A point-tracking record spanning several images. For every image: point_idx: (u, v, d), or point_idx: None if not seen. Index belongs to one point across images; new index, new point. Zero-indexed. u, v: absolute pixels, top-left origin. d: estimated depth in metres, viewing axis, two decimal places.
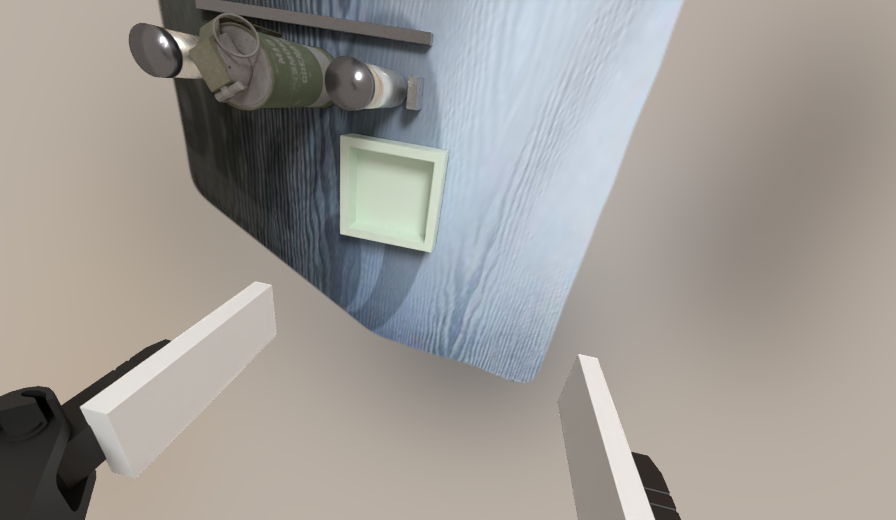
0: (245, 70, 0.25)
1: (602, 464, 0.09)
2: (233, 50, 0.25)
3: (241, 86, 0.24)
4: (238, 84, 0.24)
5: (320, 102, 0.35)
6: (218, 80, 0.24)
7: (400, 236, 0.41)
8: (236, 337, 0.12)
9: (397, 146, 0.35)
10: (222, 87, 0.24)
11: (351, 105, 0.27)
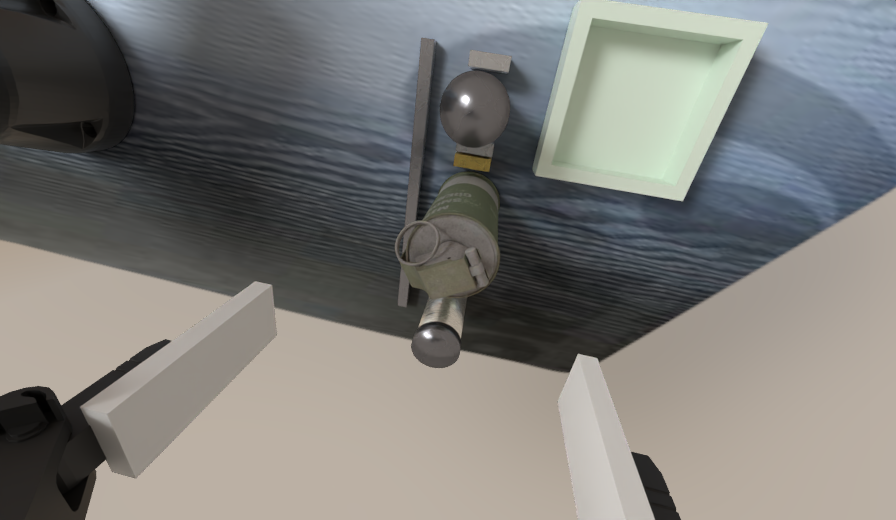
0: (453, 246, 0.20)
1: (602, 464, 0.09)
2: (432, 253, 0.20)
3: (471, 248, 0.18)
4: (468, 251, 0.18)
5: (493, 196, 0.28)
6: (463, 274, 0.18)
7: (712, 94, 0.23)
8: (236, 337, 0.12)
9: (559, 87, 0.24)
10: (471, 272, 0.18)
11: (503, 108, 0.18)
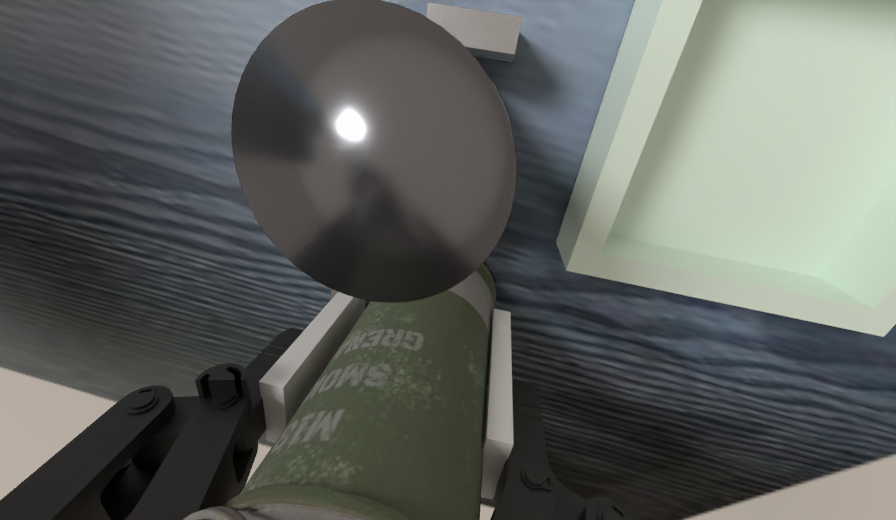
0: None
1: (487, 386, 0.11)
2: None
3: None
4: None
5: (483, 300, 0.14)
6: None
7: None
8: (345, 327, 0.14)
9: (633, 90, 0.10)
10: None
11: (486, 174, 0.04)
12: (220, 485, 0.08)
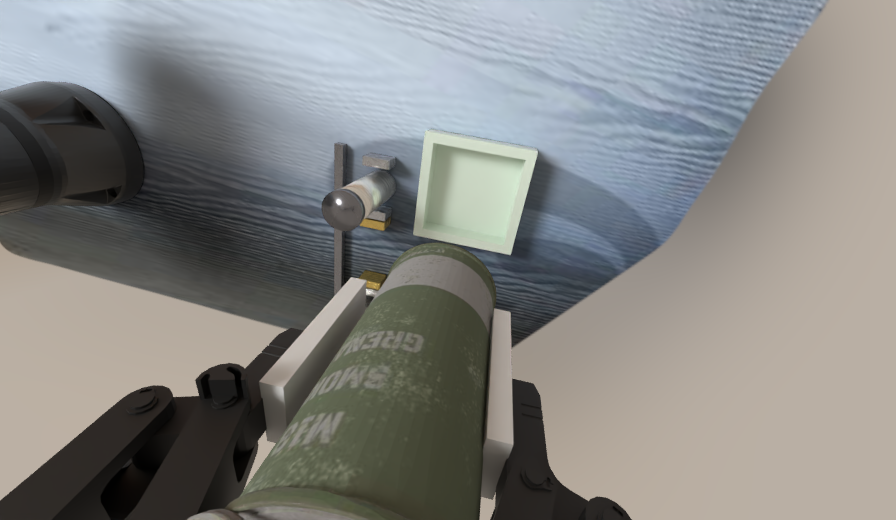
0: None
1: (487, 385, 0.11)
2: None
3: None
4: None
5: (482, 301, 0.14)
6: None
7: (517, 188, 0.36)
8: (345, 327, 0.14)
9: (420, 181, 0.36)
10: None
11: (357, 211, 0.30)
12: (220, 485, 0.08)
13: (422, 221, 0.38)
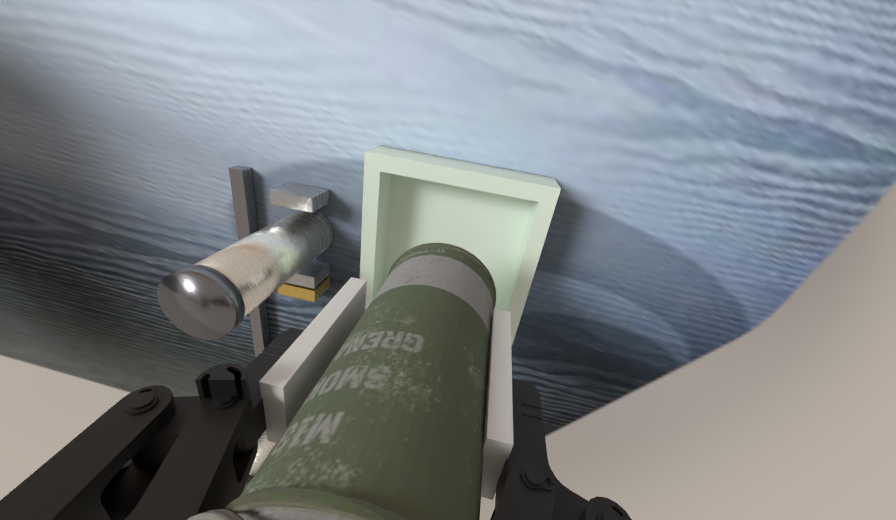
0: None
1: (487, 385, 0.11)
2: None
3: None
4: None
5: (483, 301, 0.14)
6: None
7: (524, 246, 0.21)
8: (345, 327, 0.14)
9: (363, 232, 0.22)
10: None
11: (221, 309, 0.16)
12: (220, 485, 0.08)
13: (371, 292, 0.24)
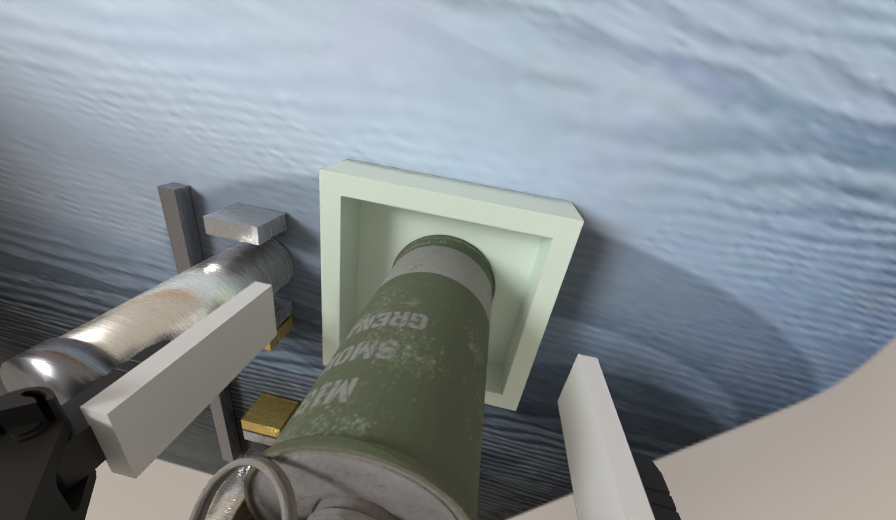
0: None
1: (602, 464, 0.09)
2: None
3: None
4: None
5: (482, 288, 0.15)
6: None
7: (532, 292, 0.16)
8: (236, 337, 0.12)
9: (323, 271, 0.17)
10: None
11: None
12: (45, 515, 0.07)
13: (337, 343, 0.19)
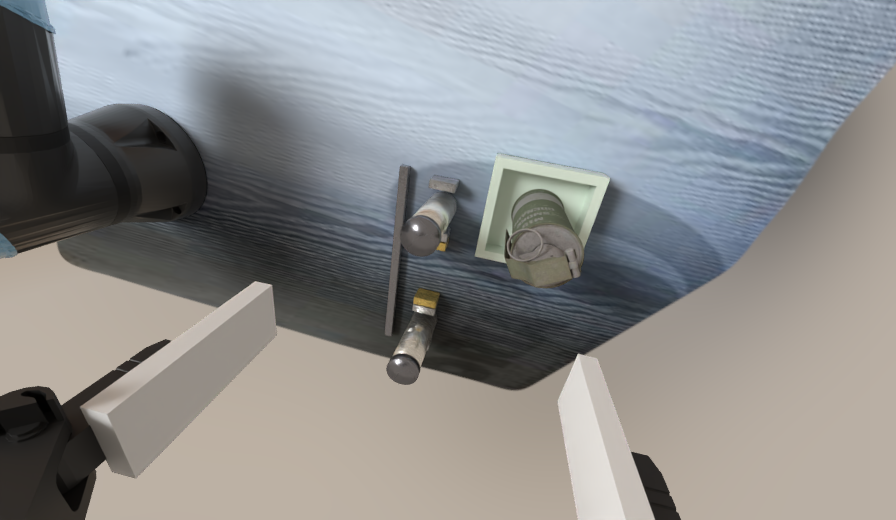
0: (550, 248, 0.27)
1: (602, 464, 0.09)
2: (534, 253, 0.27)
3: (570, 249, 0.25)
4: (568, 251, 0.24)
5: (563, 209, 0.35)
6: (563, 267, 0.25)
7: (585, 213, 0.36)
8: (236, 337, 0.12)
9: (486, 204, 0.37)
10: (569, 266, 0.25)
11: (435, 237, 0.31)
12: (44, 515, 0.07)
13: (485, 243, 0.39)
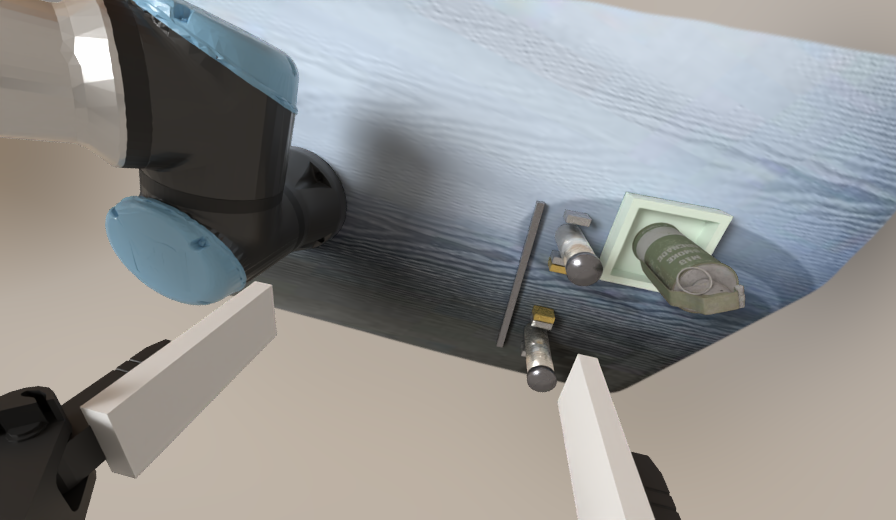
0: (713, 282, 0.33)
1: (602, 464, 0.09)
2: (698, 286, 0.33)
3: (739, 286, 0.31)
4: (739, 287, 0.31)
5: None
6: (733, 300, 0.31)
7: (704, 244, 0.42)
8: (236, 337, 0.12)
9: (618, 237, 0.43)
10: (738, 299, 0.31)
11: (599, 271, 0.37)
12: (44, 515, 0.07)
13: (611, 269, 0.45)
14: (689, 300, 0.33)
